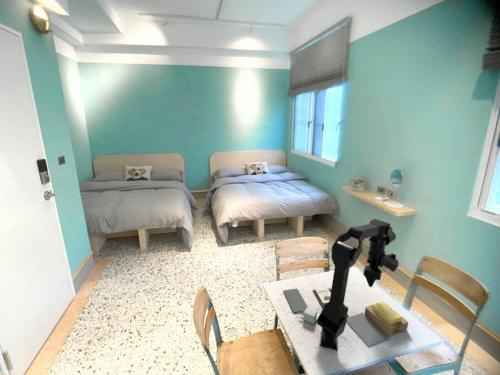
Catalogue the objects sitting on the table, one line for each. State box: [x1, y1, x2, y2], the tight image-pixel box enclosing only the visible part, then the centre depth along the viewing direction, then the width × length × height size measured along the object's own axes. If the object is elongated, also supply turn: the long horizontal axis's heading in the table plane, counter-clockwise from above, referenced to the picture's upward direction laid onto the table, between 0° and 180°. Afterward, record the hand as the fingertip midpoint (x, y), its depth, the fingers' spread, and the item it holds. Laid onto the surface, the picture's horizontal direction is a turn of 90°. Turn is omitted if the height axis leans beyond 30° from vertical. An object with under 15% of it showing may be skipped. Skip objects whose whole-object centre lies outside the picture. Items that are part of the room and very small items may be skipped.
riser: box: [364, 304, 409, 338], centre depth 104 cm, size 10×12×4 cm
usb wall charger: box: [298, 307, 318, 325], centre depth 106 cm, size 4×7×4 cm, turn 59°
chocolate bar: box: [312, 287, 350, 317], centre depth 115 cm, size 9×1×18 cm
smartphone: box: [283, 288, 309, 314], centre depth 117 cm, size 8×1×15 cm
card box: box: [372, 300, 403, 325], centre depth 103 cm, size 6×9×2 cm, turn 19°
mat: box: [346, 312, 390, 348], centre depth 101 cm, size 10×14×1 cm
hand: (371, 280), depth 110 cm, fingers open, 9 cm apart
